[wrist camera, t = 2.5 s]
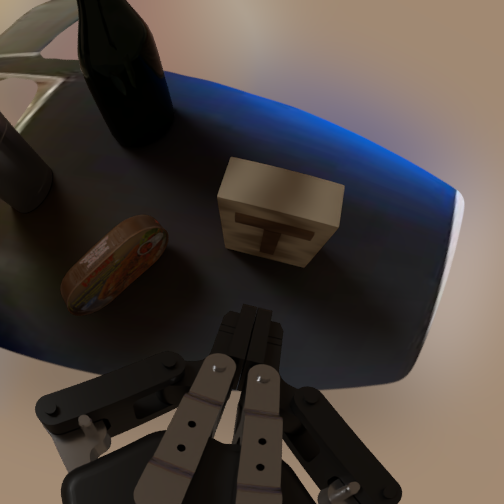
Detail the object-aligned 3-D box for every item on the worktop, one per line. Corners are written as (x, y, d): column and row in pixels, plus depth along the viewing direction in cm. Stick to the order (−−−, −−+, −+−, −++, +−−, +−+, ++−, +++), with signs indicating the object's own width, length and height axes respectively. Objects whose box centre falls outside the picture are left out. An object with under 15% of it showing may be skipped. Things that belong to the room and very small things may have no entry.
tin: (91, 320, 34) (56, 313, 26) (79, 301, 34) (44, 290, 26) (176, 245, 37) (159, 220, 29) (162, 228, 38) (143, 199, 29)
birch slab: (224, 250, 37) (215, 199, 23) (234, 218, 38) (230, 156, 25) (303, 270, 37) (338, 230, 23) (310, 238, 38) (344, 185, 24)
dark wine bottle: (104, 148, 41) (11, -25, 9) (128, 101, 44) (71, -61, 12) (163, 152, 41) (95, -63, 9) (183, 102, 44) (151, -85, 12)
